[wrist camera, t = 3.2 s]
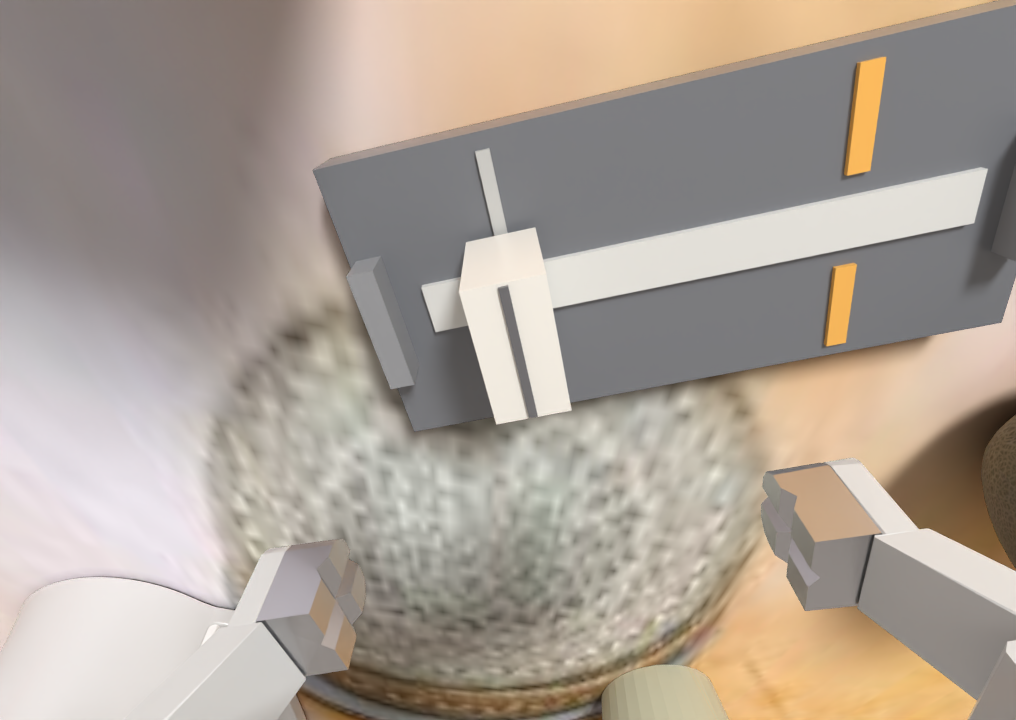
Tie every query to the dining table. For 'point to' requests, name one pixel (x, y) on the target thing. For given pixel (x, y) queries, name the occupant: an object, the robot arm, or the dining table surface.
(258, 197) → the dining table surface
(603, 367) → the console
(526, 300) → the fader
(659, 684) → the reusable coffee cup
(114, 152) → the dining table surface
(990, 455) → the dark grey stone
